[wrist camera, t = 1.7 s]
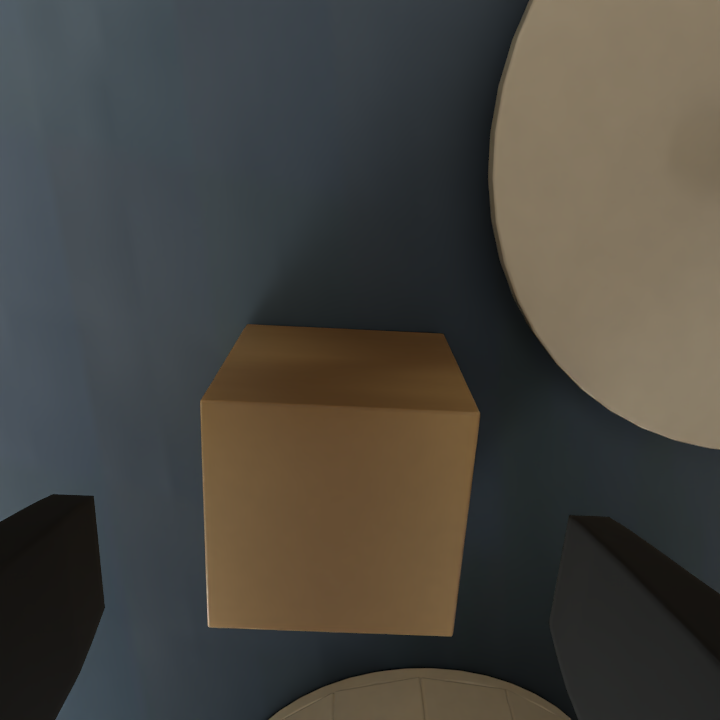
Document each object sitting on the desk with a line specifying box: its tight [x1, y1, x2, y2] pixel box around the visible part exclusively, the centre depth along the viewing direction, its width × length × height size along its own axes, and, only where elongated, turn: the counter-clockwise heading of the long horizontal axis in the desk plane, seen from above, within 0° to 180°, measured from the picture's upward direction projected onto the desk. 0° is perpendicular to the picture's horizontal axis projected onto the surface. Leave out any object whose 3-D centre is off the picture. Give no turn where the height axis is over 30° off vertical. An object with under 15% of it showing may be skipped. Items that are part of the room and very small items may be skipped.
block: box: [200, 324, 480, 636], centre depth 13 cm, size 4×4×4 cm
